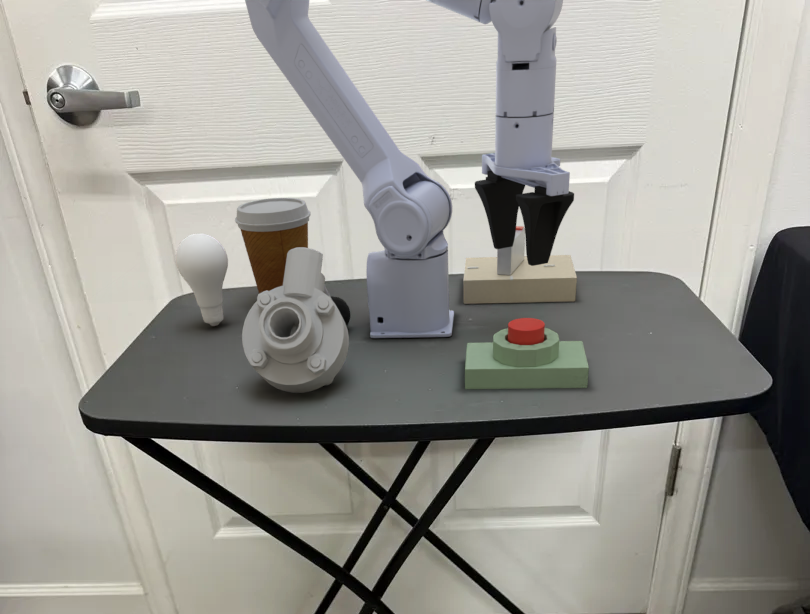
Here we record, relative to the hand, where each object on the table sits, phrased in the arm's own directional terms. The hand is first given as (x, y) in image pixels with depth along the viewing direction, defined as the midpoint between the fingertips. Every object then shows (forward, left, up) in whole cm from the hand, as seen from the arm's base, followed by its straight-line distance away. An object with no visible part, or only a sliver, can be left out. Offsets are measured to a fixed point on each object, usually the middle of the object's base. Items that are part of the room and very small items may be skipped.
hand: (520, 255), depth 84 cm
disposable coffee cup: (-31, +14, -9) cm, 35 cm away
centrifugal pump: (-23, -7, -9) cm, 25 cm away
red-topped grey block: (-1, +16, -6) cm, 17 cm away
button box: (0, -12, -9) cm, 15 cm away
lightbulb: (-38, +5, -9) cm, 39 cm away
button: (0, -12, -5) cm, 13 cm away
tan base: (0, +16, -9) cm, 18 cm away
